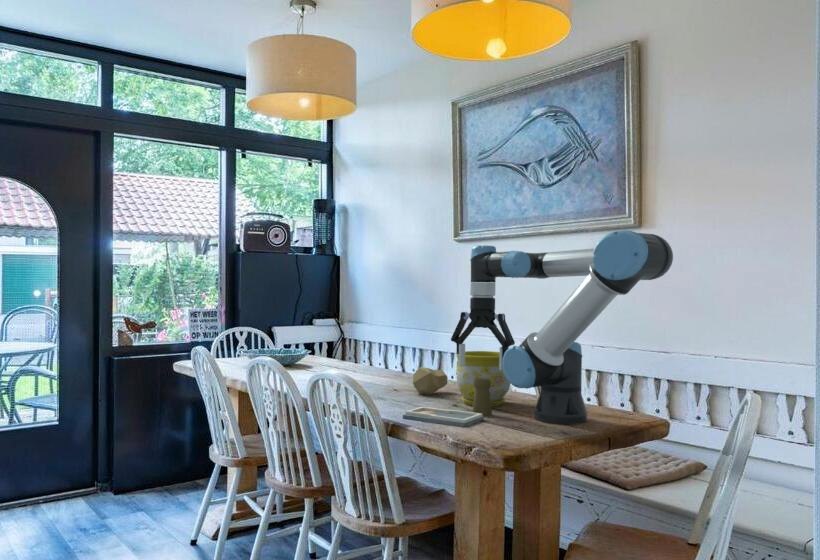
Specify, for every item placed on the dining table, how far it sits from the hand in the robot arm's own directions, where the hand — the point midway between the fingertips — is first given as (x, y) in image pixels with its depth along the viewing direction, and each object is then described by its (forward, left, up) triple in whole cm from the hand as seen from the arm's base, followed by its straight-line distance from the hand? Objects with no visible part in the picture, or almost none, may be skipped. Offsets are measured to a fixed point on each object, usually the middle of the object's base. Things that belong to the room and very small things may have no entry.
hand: (481, 367), depth 193 cm
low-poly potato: (+32, -23, -14) cm, 42 cm away
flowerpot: (+8, -17, -14) cm, 24 cm away
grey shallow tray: (+6, +13, -14) cm, 20 cm away
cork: (0, 0, -14) cm, 14 cm away
